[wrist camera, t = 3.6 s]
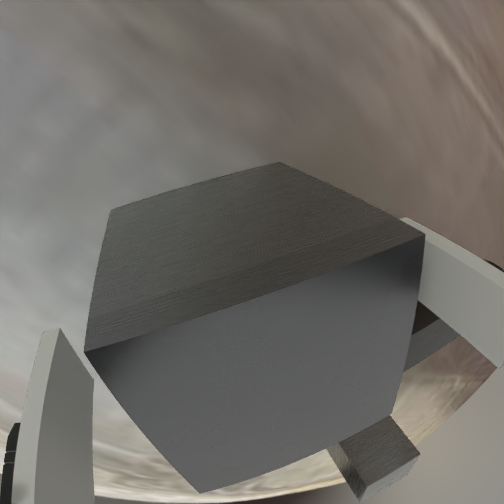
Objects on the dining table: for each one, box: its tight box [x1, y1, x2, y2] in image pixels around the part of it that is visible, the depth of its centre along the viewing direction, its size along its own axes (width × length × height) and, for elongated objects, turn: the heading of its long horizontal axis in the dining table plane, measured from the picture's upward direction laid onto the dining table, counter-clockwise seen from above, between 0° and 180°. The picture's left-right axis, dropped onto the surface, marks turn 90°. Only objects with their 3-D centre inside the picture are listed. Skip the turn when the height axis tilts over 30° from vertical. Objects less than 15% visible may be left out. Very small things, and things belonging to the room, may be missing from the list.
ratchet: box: [326, 301, 460, 502], centre depth 17 cm, size 19×9×10 cm, turn 102°
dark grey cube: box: [84, 162, 426, 493], centre depth 11 cm, size 7×7×8 cm
